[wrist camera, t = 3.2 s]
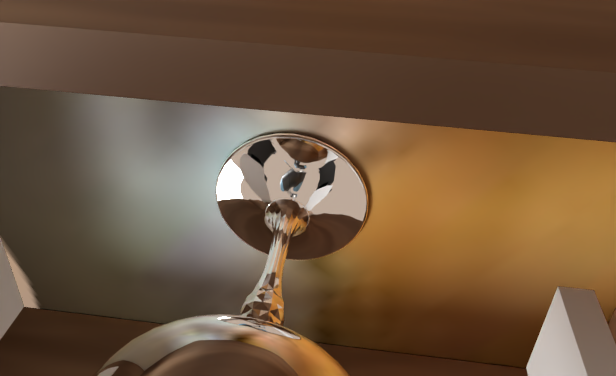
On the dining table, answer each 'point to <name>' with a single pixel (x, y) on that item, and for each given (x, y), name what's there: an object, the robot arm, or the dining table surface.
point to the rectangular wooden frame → (312, 98)
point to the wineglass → (278, 246)
